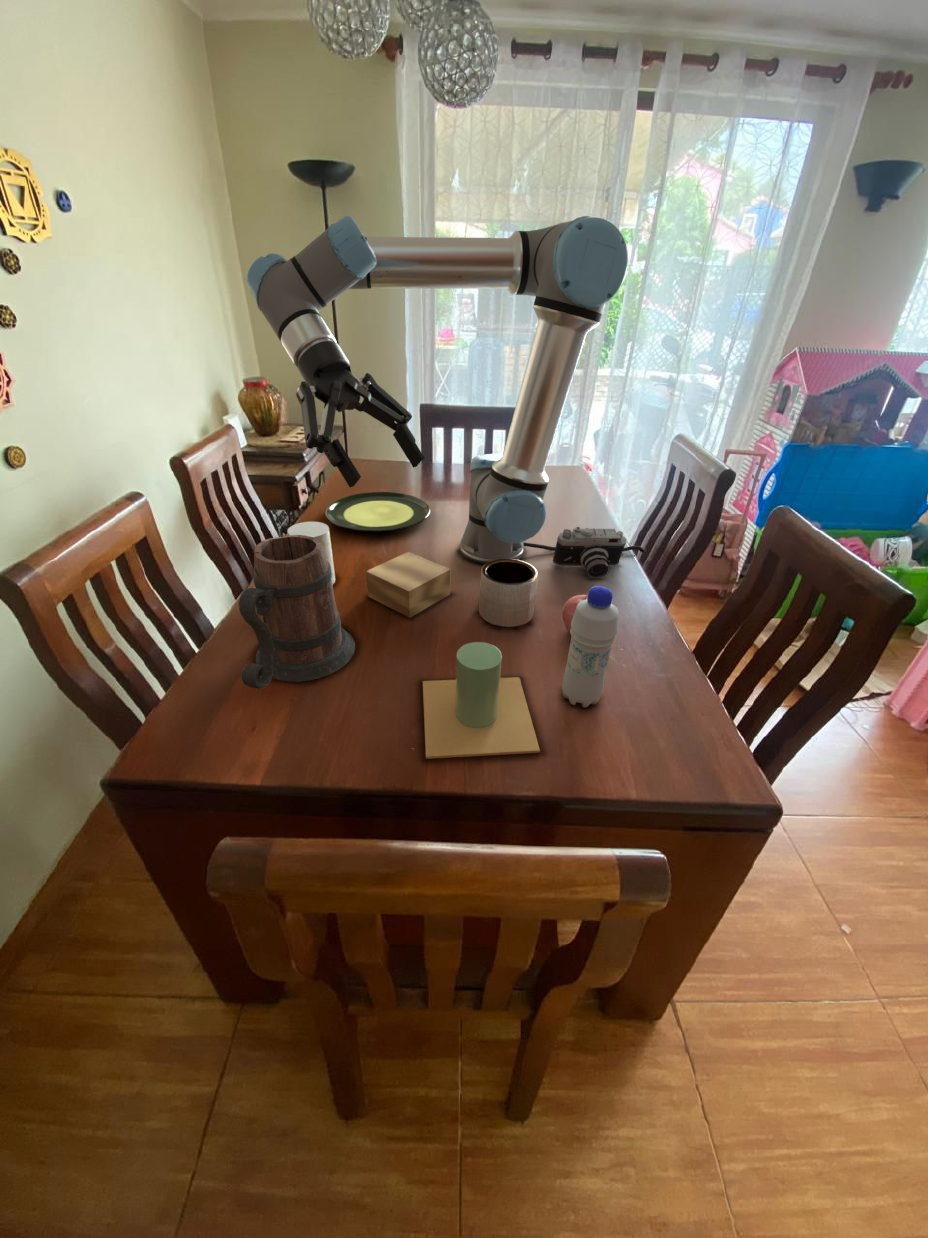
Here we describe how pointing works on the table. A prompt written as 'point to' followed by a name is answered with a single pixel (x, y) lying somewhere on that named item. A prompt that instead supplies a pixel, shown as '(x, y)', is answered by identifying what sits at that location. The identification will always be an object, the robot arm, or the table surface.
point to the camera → (589, 549)
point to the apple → (571, 609)
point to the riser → (408, 583)
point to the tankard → (293, 613)
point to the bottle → (590, 647)
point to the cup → (319, 533)
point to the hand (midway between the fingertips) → (389, 472)
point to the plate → (377, 511)
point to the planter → (507, 592)
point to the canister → (477, 684)
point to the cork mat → (459, 740)
